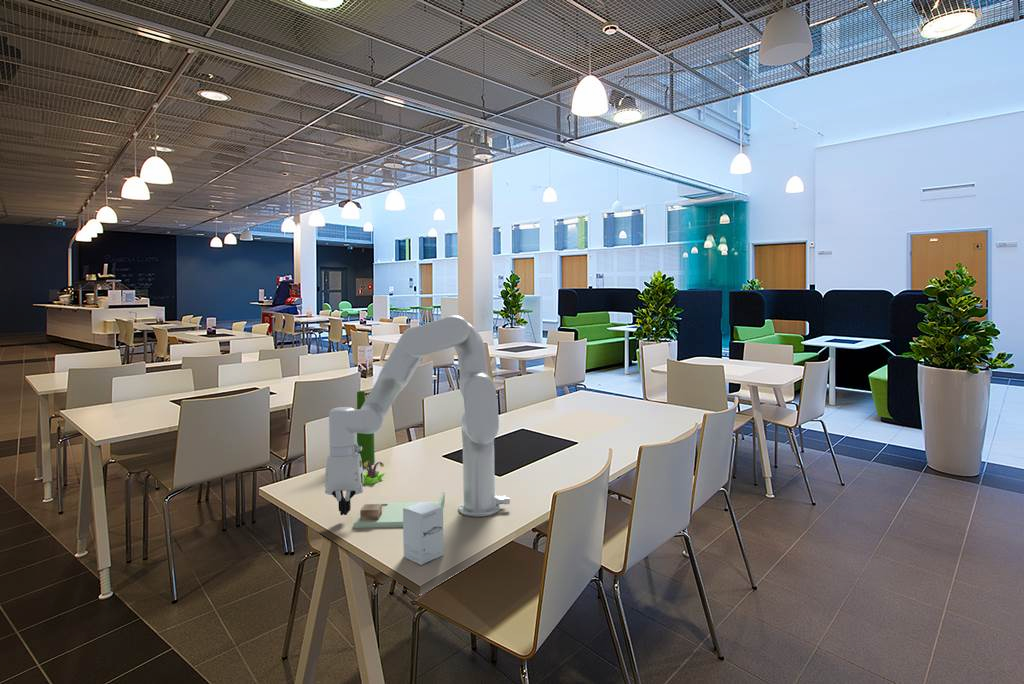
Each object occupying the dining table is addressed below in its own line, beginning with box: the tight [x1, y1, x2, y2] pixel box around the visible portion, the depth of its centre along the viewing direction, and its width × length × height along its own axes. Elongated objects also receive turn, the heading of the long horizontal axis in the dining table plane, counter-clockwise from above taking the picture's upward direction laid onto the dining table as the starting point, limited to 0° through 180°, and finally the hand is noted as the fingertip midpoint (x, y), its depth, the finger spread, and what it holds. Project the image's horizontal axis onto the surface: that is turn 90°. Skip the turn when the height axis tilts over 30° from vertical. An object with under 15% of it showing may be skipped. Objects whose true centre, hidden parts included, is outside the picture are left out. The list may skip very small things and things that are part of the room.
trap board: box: [353, 491, 446, 529], centre depth 157 cm, size 24×16×6 cm, turn 92°
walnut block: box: [359, 503, 383, 521], centre depth 153 cm, size 5×5×3 cm
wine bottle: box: [356, 390, 376, 469], centre depth 203 cm, size 9×9×32 cm
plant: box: [362, 461, 386, 485], centre depth 186 cm, size 20×20×11 cm
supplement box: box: [402, 500, 445, 566], centre depth 132 cm, size 7×7×13 cm
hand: (344, 513), depth 153 cm, fingers closed
